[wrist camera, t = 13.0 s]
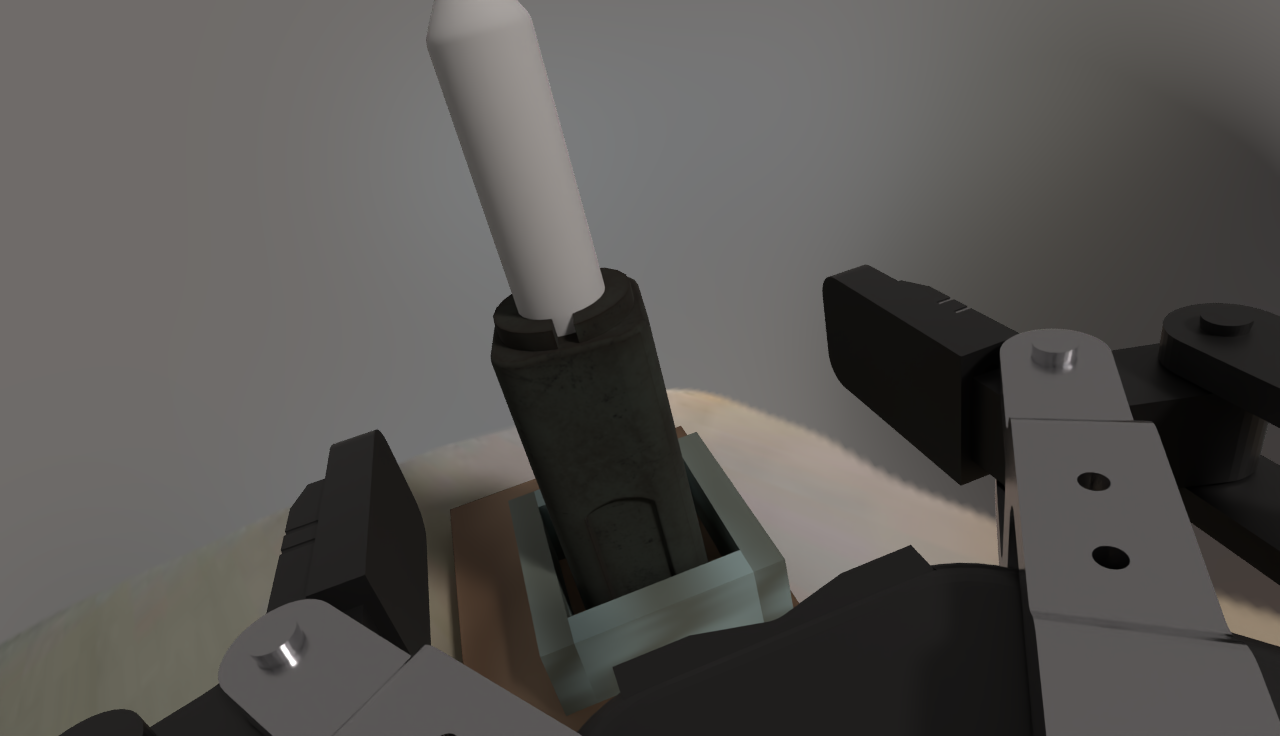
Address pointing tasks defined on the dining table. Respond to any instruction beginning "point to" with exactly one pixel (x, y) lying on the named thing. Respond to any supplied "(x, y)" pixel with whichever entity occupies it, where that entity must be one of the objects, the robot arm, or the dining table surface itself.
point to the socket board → (614, 631)
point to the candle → (565, 319)
